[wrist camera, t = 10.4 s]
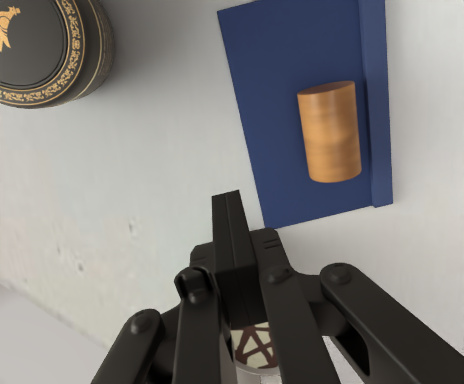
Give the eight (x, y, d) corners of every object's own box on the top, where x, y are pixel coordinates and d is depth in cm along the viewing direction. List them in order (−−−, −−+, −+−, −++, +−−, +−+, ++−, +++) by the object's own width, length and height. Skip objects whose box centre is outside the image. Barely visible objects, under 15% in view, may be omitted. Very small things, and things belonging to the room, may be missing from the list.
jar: (5, 91, 28) (-63, 100, 21) (-11, -42, 24) (-101, -86, 17) (120, 106, 29) (92, 119, 22) (121, -19, 25) (87, -51, 18)
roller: (319, 94, 24) (367, 79, 26) (286, 94, 29) (329, 81, 30) (330, 187, 27) (373, 169, 29) (299, 174, 32) (338, 159, 33)
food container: (201, 225, 34) (198, 284, 25) (256, 217, 34) (273, 274, 25) (216, 311, 39) (218, 388, 30) (264, 305, 39) (281, 379, 30)
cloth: (216, 11, 27) (217, 9, 26) (377, -31, 26) (383, -35, 25) (265, 229, 35) (267, 234, 34) (388, 200, 35) (393, 203, 34)
